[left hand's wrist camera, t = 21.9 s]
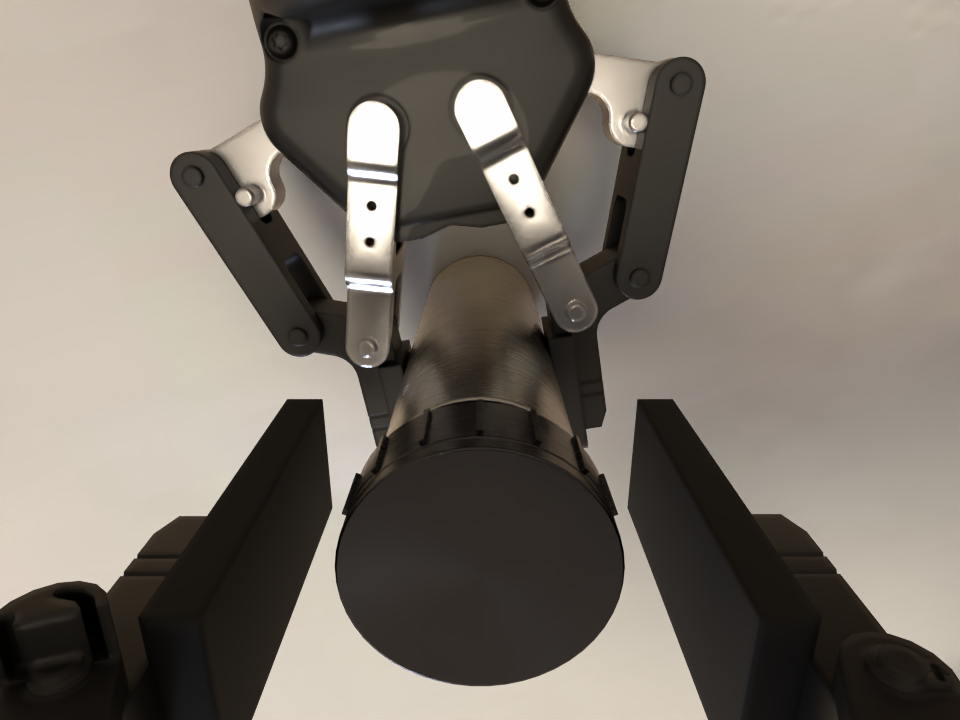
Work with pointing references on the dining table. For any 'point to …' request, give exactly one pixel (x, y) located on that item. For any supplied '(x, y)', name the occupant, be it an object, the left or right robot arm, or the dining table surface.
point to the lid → (479, 546)
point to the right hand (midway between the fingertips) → (496, 447)
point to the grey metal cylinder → (479, 346)
